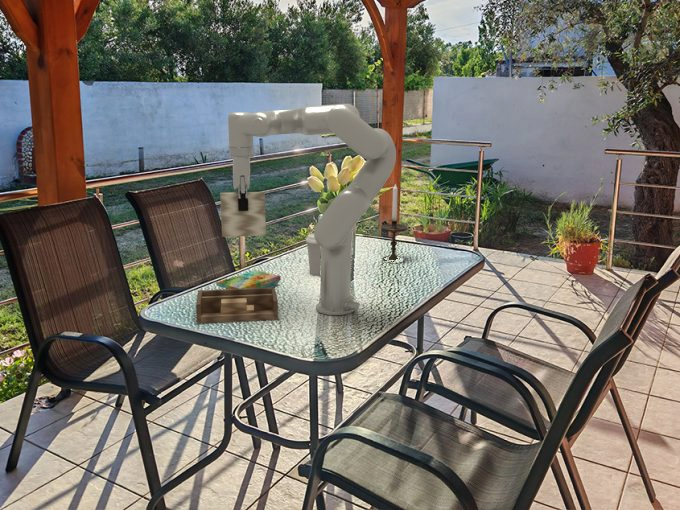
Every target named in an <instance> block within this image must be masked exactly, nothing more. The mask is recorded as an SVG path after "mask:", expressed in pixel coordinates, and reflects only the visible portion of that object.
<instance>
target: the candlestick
mask: <svg viewBox="0 0 680 510" xmlns="http://www.w3.org/2000/svg"><path fill="white" fill-rule="evenodd" d="M397 180H398V178H397V177H395V179H394V181H393V182H394V186H393V187H392V209H391V210H392V211H391V212H392V213H391V214H392V215H391V219H389V221H390V222H391V223H386V224H382V225H381V226H380V230H382V231H384V232H390V233H391V234H392V236H391V237H392V239H391V241H390V242H389V243H390V246H391V248H390V250H391V254H390V255H387V256H383V257H382V259H383V260H384V261H387V260H385V259H384V258H386V257H388V256H390V257H389V260H396V259H398V258H397V256H398V255H396V250H397V249H398V248H397V247H396V246H397V245H398V242H397V241H396V238H397V237H396V234H397V233H401V232H406V231H408V225H404V224H399V223H398V222H399V221H400V219H397V218H398V193H399V192H398V187H397ZM391 262H392V261H391ZM393 262H394V261H393Z"/></svg>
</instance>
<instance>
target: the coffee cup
mask: <svg viewBox="0 0 680 510" xmlns="http://www.w3.org/2000/svg"><path fill="white" fill-rule="evenodd" d="M305 242H306V245H307V255H308V266H309V275H312V276H314V275H315V277H317V276H318V277H321V276H320V246H319V245H318V244H317V242H316V240H315V238H314V232H313V233H309V234H308V235H307V237H306V238H305Z"/></svg>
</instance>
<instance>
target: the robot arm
mask: <svg viewBox="0 0 680 510" xmlns="http://www.w3.org/2000/svg"><path fill="white" fill-rule="evenodd" d="M227 125H228V129H227V130H228V150H229V151H228V152H229V153H228V154H229V155H228V156H229V158H232V178H233V179H232V180H233V181H232V183H233V189H234V190H235V191H236V190H237V189H238V191H237V192H238V193H239V199H238V211H248V198H247V192H248V190H249V189H250V183H251V158H254V137H257V138H266V137H269V136H276V135H278V136H279V135H288V134H289V135H291V134H300V135H301V134H302V135H304V136H315V135H317V136H318V135H331V134H334V135H335V136H336V137H337V138H338V139H339V140H340V141H342V143H344V144H345V145H346V146H348V147H349V148H350V149H351V150H352V151H354V152H355V153H356V154H358V155H359V157H361V158H363V159H365V160H366V161H365V163H364V165H363V166H362V167H360V170H359V171H358V172H357V174H356V176H355V177H354V178H353V180H352V181H351V182H350V183H349V185H348V186H347V187H346V188H344V189H342V190H341V191H340V192H339V193H337V195H336V196H335V197H334V199H333V201H331V203H330V204H329V206H328V207H327V208H326V210H325V211H324V213H323V214H322V216H321V217H320V219H319V220H318V222H317V223H316V224H315V226H314V230H313V233H314V238H315V240H316V242H317V244H318V245H319V246H321V276H320V302H318V303H317V304H315V310H316V311H317V312H318V313H320V314H322V315H327V316H343V315H348V314H352V313H353V312H354V311H358V310H359V308H360V302H358V301H354V296H353V295H351V276H352V275H351V274H352V273H351V272H352V271H351V265H352V264H351V263H352V243H353V242H352V241H353V234H354V233H353V232H354V231H353V230H354V228H355V226H356V225H357V223H358V222H359V221H360V219H361V218H362V217H363V216H364V215H365V214H366V212H367V211H368V209H369V208H370V206H371V205H372V203H373V202H374V199H375V198H376V197H377V195H378V194H379V193H380V192H381V190H382V188H383V187H384V186H385V184H386V182H387V181H388V180H389V178H390V176H391V174H392V173H393V171H394V168H395V165H396V162H397V150H396V149H397V148H396V145H395V142H394V140H393V138H392V137H391V135H390V133H388V132H387V130H384V129H383V128H379V127H378V128H377V127H375V128H374V127H372V126H371V125H370V124H368V123H367V122H366V121H365V120H363V119H362V118H361V115H360V112H359V110H358V108H357V107H356V106H354V105H353V104H350V103H338V104H337V103H335V104H324V105H311V106H303V107H300V108H293V109H282V110H266V111H257V112H248V111H233V112H230V113H228V115H227Z"/></svg>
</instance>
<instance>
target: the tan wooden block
mask: <svg viewBox="0 0 680 510" xmlns="http://www.w3.org/2000/svg"><path fill="white" fill-rule="evenodd" d="M249 313H254V305H247V300H246V298H239V299H221V315H228V314H249Z"/></svg>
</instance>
